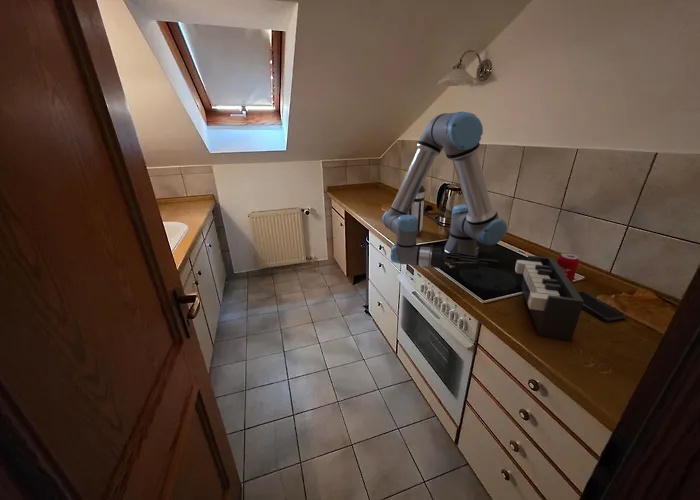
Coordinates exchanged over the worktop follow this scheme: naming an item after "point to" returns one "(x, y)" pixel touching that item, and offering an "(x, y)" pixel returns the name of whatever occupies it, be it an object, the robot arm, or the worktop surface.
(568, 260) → the beverage can
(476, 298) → the worktop surface
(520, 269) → the key far
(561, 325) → the piano
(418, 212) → the coffee press
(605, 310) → the phone
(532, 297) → the key near
